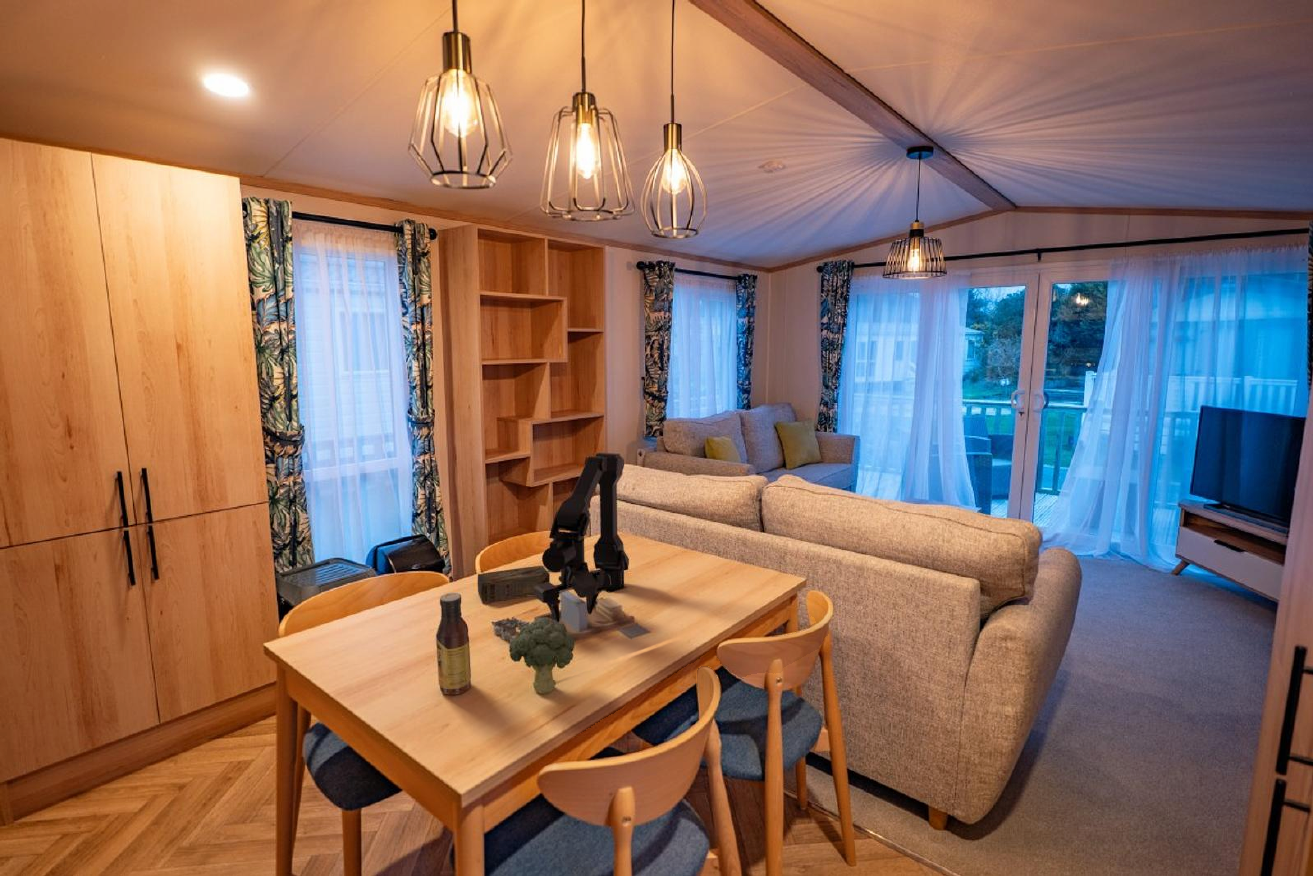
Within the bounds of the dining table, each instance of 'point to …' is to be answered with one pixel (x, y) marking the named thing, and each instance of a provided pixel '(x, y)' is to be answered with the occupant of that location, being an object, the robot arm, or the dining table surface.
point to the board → (574, 611)
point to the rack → (592, 623)
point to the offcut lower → (610, 616)
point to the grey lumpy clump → (508, 627)
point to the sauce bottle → (453, 647)
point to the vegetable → (543, 650)
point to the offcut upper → (609, 605)
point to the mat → (633, 630)
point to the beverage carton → (510, 583)
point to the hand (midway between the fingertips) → (573, 618)
